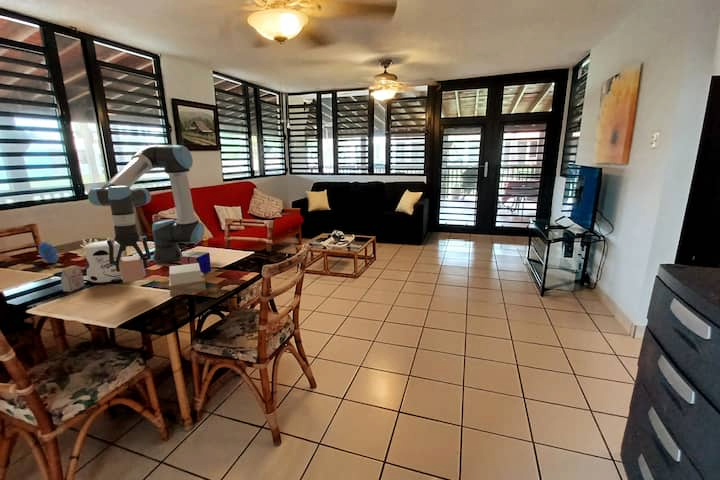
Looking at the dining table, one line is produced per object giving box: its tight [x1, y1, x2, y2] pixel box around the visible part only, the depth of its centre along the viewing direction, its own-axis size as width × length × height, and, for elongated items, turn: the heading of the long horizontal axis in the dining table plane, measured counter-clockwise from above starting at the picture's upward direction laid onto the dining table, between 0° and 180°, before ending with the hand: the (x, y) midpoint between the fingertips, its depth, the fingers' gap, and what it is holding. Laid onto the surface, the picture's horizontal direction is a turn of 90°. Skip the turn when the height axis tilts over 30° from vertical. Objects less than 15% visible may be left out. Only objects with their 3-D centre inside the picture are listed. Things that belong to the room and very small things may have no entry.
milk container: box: [84, 240, 129, 285], centre depth 160 cm, size 17×17×18 cm
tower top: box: [169, 263, 202, 285], centre depth 151 cm, size 12×12×5 cm
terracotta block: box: [120, 254, 145, 283], centre depth 141 cm, size 7×7×9 cm
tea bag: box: [60, 265, 86, 293], centre depth 150 cm, size 4×7×10 cm, turn 173°
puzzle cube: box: [179, 250, 212, 275], centre depth 172 cm, size 10×10×10 cm
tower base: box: [168, 272, 207, 297], centre depth 153 cm, size 14×14×5 cm
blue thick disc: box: [37, 241, 59, 264], centre depth 184 cm, size 12×7×12 cm, turn 79°
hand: (133, 276), depth 142 cm, fingers closed on terracotta block, 7 cm apart
